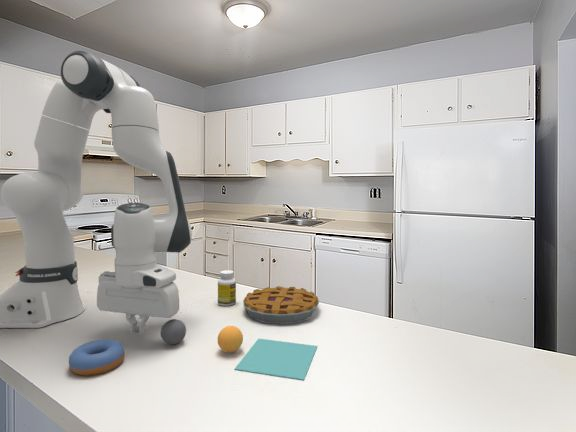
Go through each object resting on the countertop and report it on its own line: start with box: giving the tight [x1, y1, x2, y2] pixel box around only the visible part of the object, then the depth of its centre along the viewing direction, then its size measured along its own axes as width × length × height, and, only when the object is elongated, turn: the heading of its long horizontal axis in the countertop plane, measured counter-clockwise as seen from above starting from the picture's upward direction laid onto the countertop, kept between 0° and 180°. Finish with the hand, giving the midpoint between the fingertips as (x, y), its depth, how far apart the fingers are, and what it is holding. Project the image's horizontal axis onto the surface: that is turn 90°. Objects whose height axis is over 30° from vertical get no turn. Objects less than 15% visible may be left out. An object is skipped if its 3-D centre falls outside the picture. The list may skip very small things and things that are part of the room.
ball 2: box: [217, 325, 244, 353], centre depth 77 cm, size 6×6×6 cm
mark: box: [234, 338, 318, 381], centre depth 75 cm, size 14×14×1 cm
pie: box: [242, 286, 320, 324], centre depth 102 cm, size 22×22×5 cm
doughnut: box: [68, 338, 126, 377], centre depth 72 cm, size 10×10×5 cm
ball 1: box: [160, 318, 187, 345], centre depth 81 cm, size 6×6×6 cm
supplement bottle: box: [217, 269, 237, 307], centre depth 107 cm, size 5×5×10 cm
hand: (138, 331), depth 83 cm, fingers closed
